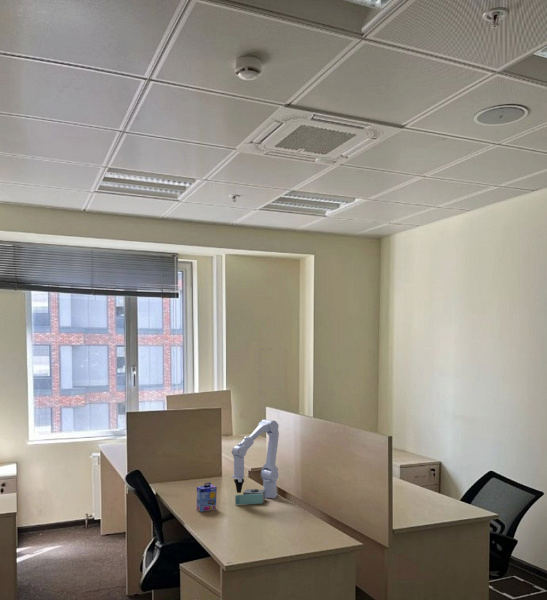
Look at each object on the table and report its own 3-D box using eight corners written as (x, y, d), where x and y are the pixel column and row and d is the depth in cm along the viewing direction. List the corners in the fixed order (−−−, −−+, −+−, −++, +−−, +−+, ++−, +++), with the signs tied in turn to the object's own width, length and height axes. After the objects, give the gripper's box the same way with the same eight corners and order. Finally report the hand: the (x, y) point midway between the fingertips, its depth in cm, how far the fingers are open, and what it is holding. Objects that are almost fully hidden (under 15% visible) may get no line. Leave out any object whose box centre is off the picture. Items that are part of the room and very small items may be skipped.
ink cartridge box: (200, 512, 312) (200, 484, 313) (195, 509, 316) (196, 482, 317) (217, 509, 317) (217, 482, 318) (212, 507, 321) (212, 480, 322)
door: (235, 504, 325) (235, 495, 326) (263, 503, 327) (263, 493, 328) (235, 505, 324) (235, 495, 324) (263, 503, 326) (263, 494, 326)
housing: (246, 498, 338) (246, 487, 338) (265, 499, 336) (265, 488, 336) (243, 502, 330) (243, 491, 330) (262, 503, 328) (262, 492, 328)
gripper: (230, 465, 336) (230, 489, 335) (232, 470, 321) (232, 496, 320) (243, 464, 337) (243, 489, 336) (245, 470, 322) (245, 495, 321)
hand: (238, 492), depth 328 cm, fingers closed
